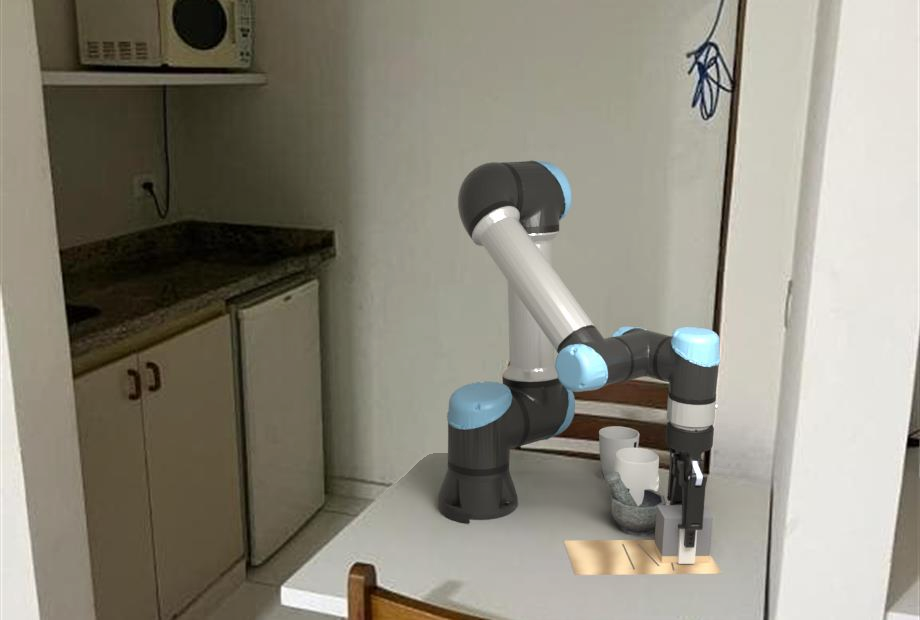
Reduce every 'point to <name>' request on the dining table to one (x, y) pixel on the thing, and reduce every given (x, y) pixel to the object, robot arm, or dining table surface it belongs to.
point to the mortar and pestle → (633, 507)
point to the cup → (615, 444)
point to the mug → (637, 471)
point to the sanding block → (669, 534)
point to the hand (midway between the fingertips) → (681, 554)
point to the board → (626, 559)
